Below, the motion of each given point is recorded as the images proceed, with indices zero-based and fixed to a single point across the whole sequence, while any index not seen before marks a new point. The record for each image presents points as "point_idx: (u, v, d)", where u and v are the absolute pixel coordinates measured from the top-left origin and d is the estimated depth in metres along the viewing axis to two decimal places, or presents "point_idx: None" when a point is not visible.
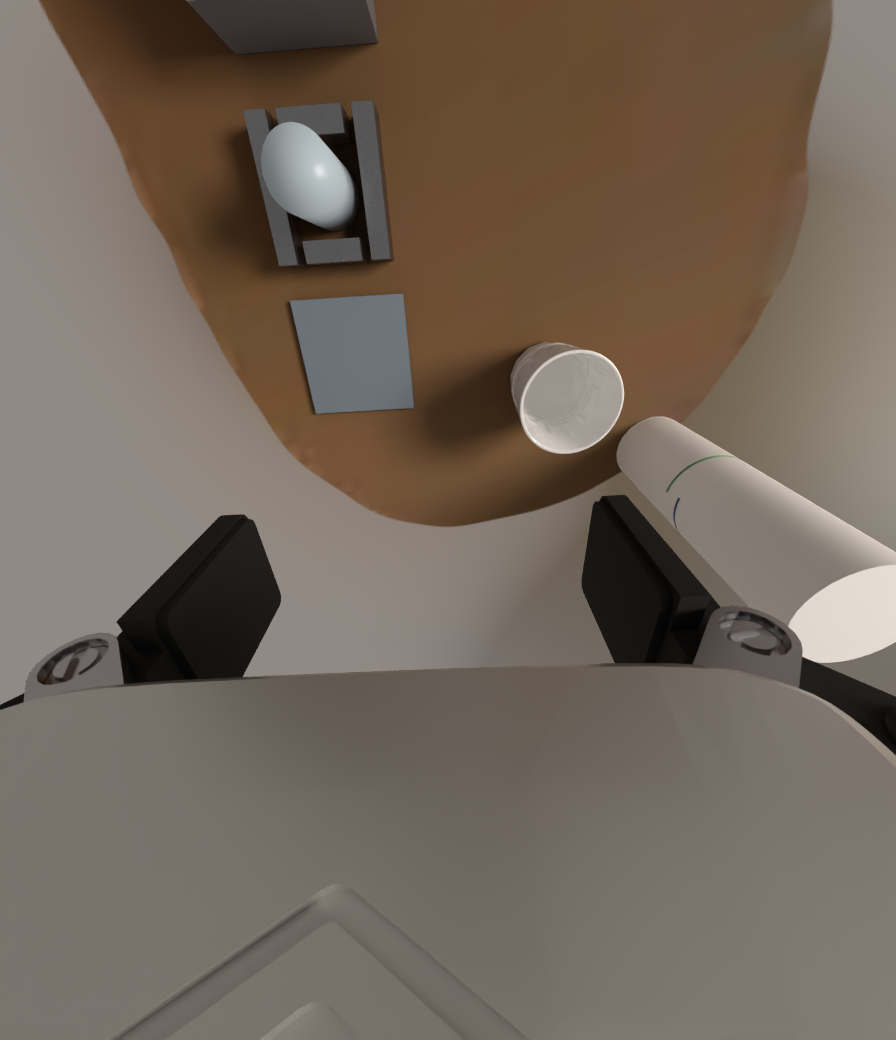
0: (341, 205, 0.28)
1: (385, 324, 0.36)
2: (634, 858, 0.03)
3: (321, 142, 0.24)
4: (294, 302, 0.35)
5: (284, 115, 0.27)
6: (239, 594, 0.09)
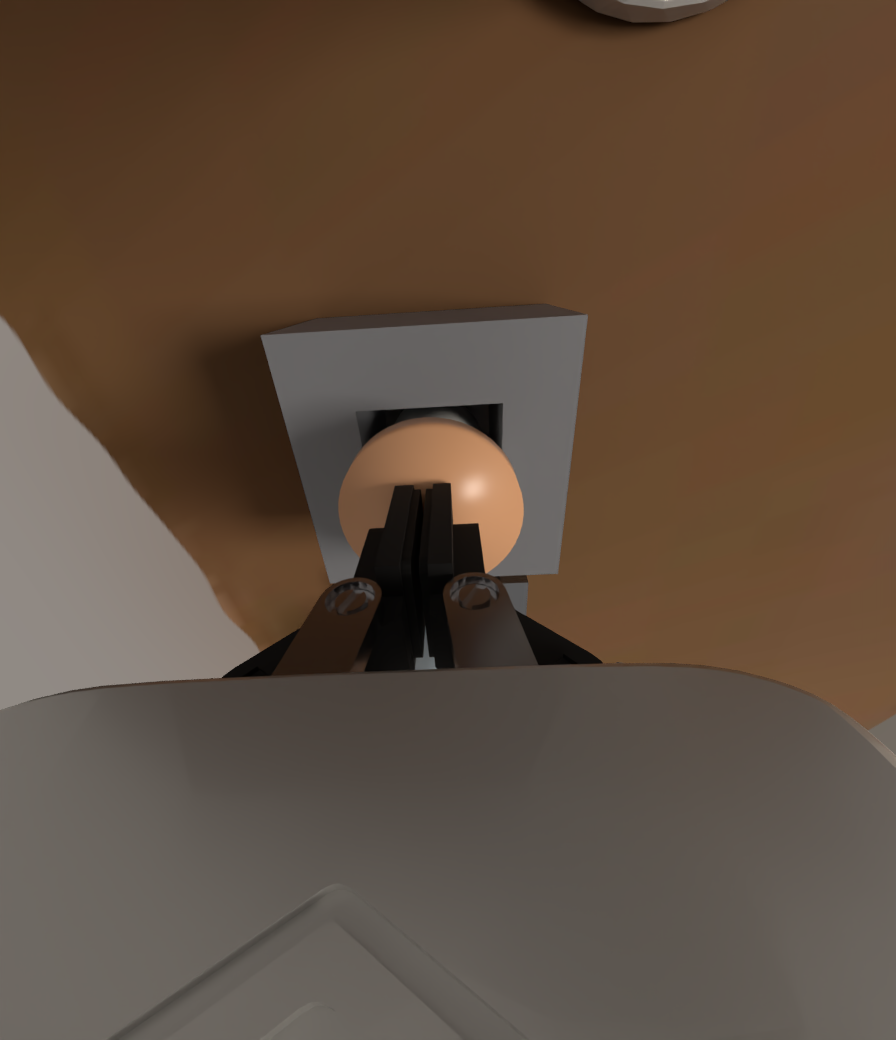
0: None
1: None
2: (634, 858, 0.03)
3: None
4: None
5: None
6: None
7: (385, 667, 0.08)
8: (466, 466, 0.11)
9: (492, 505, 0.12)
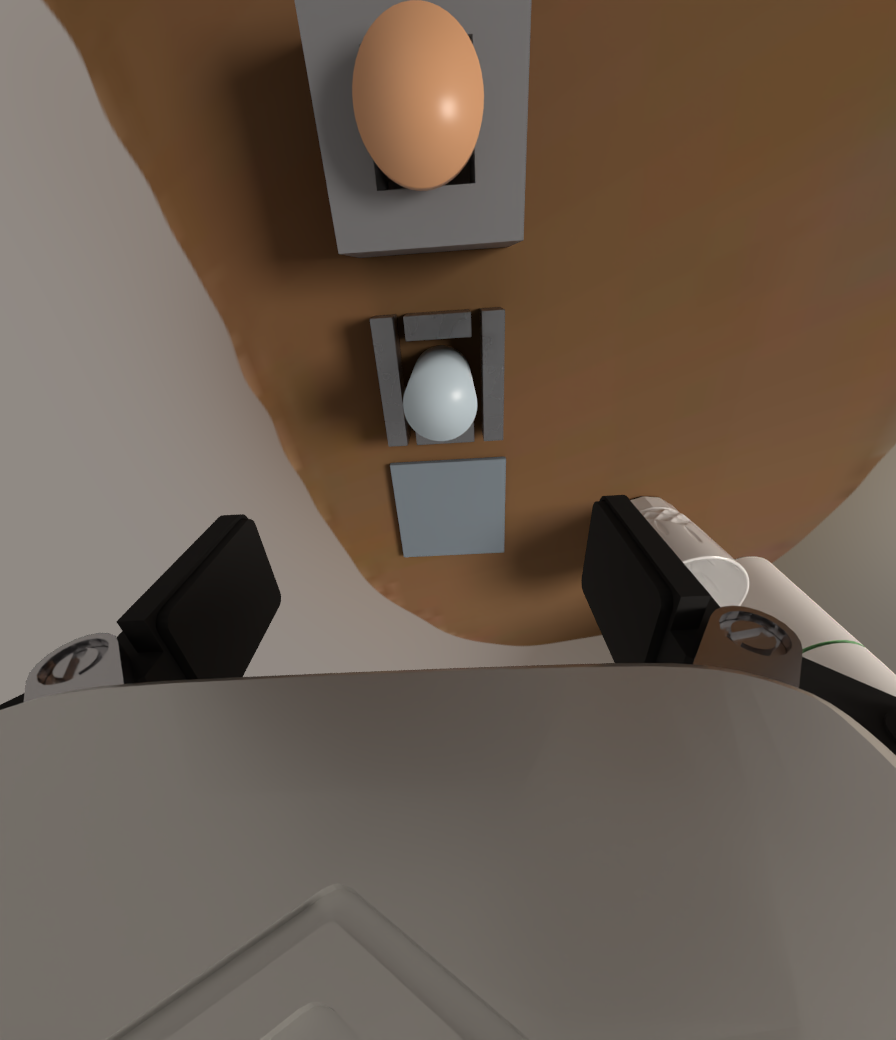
0: None
1: (484, 484, 0.35)
2: (634, 858, 0.03)
3: (468, 382, 0.23)
4: (394, 466, 0.34)
5: (411, 323, 0.26)
6: (239, 594, 0.09)
7: None
8: (441, 41, 0.16)
9: (461, 87, 0.16)
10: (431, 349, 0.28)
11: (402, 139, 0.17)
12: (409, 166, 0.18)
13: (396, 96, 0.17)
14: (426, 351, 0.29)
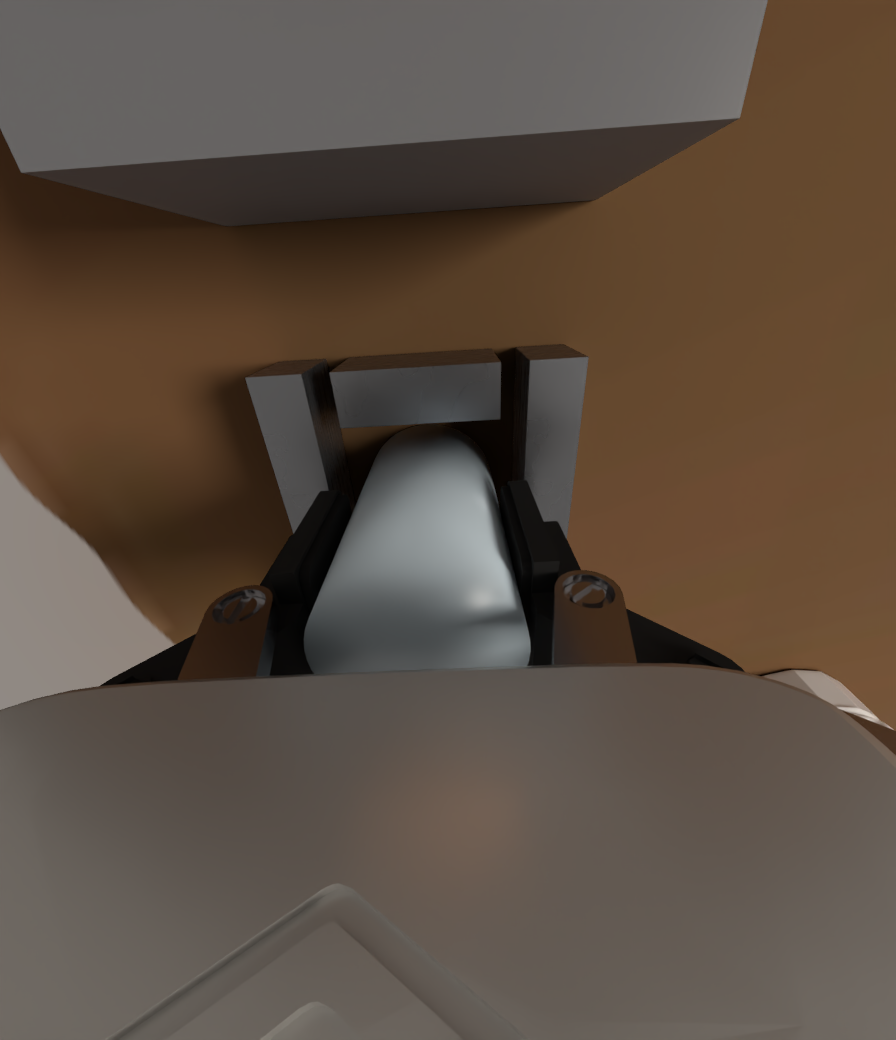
0: None
1: None
2: (634, 858, 0.03)
3: (506, 605, 0.07)
4: None
5: (352, 387, 0.10)
6: None
7: (290, 666, 0.08)
8: None
9: None
10: (406, 438, 0.13)
11: None
12: None
13: None
14: (395, 440, 0.13)
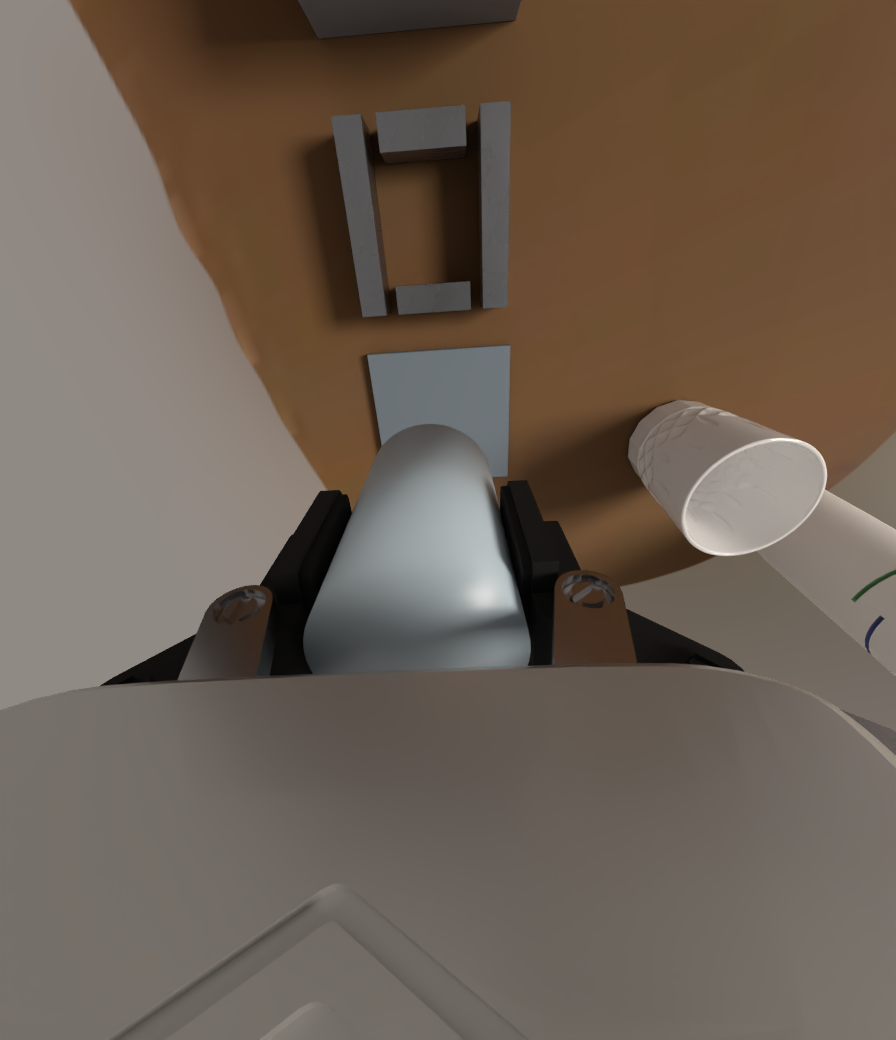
0: None
1: (484, 382, 0.28)
2: (634, 858, 0.03)
3: (507, 605, 0.07)
4: (372, 356, 0.28)
5: (387, 123, 0.20)
6: None
7: (290, 666, 0.08)
8: None
9: None
10: (406, 438, 0.13)
11: None
12: None
13: None
14: (395, 440, 0.13)
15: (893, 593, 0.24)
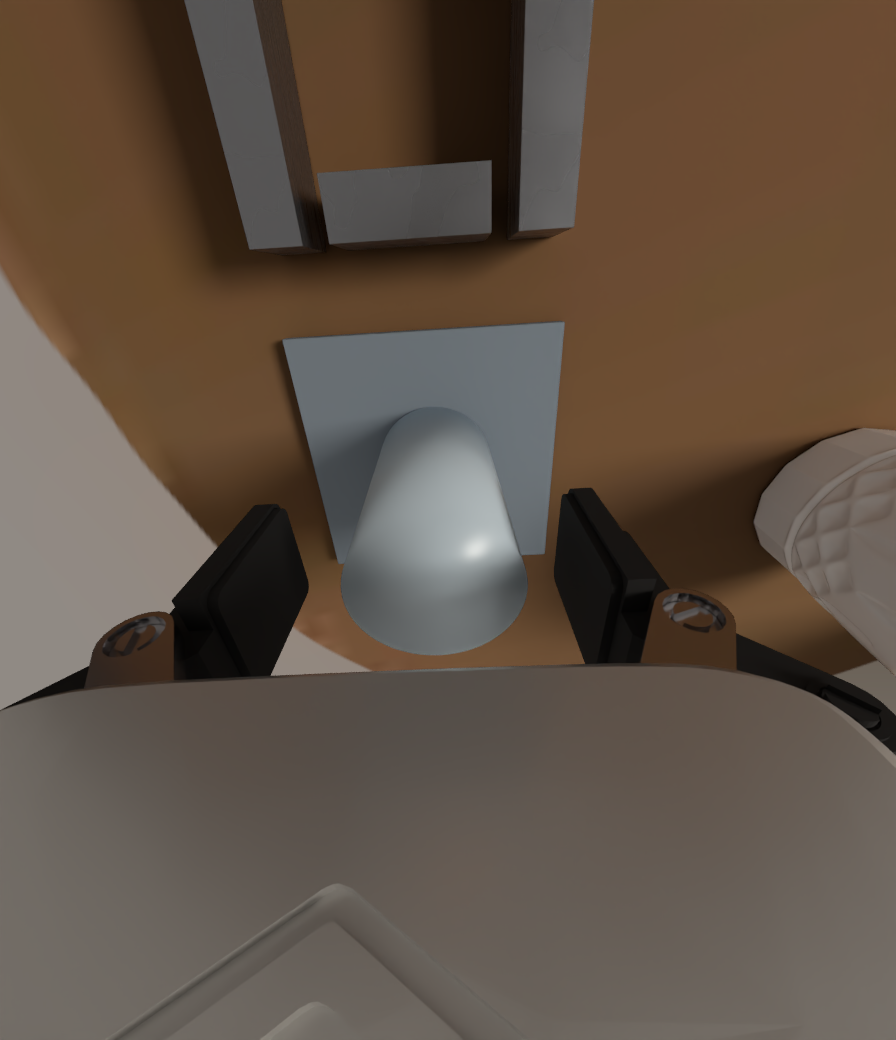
0: None
1: (510, 394, 0.15)
2: (634, 858, 0.03)
3: (509, 548, 0.09)
4: (293, 343, 0.14)
5: None
6: (275, 580, 0.10)
7: None
8: None
9: None
10: (415, 418, 0.14)
11: None
12: None
13: None
14: (405, 421, 0.14)
15: None
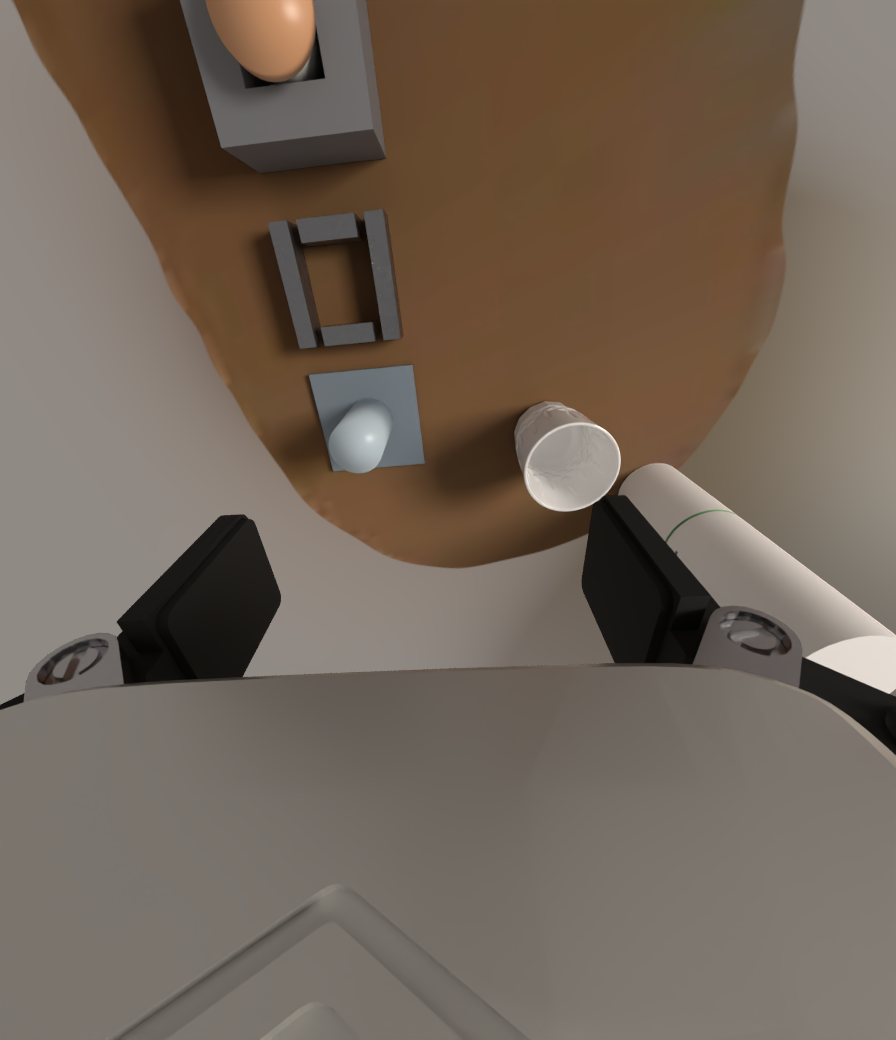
0: None
1: (396, 392, 0.38)
2: (634, 858, 0.03)
3: (374, 432, 0.32)
4: (313, 376, 0.38)
5: (304, 225, 0.30)
6: (239, 594, 0.09)
7: None
8: None
9: None
10: (359, 402, 0.38)
11: (249, 32, 0.22)
12: (258, 55, 0.22)
13: None
14: (356, 403, 0.38)
15: (683, 533, 0.33)
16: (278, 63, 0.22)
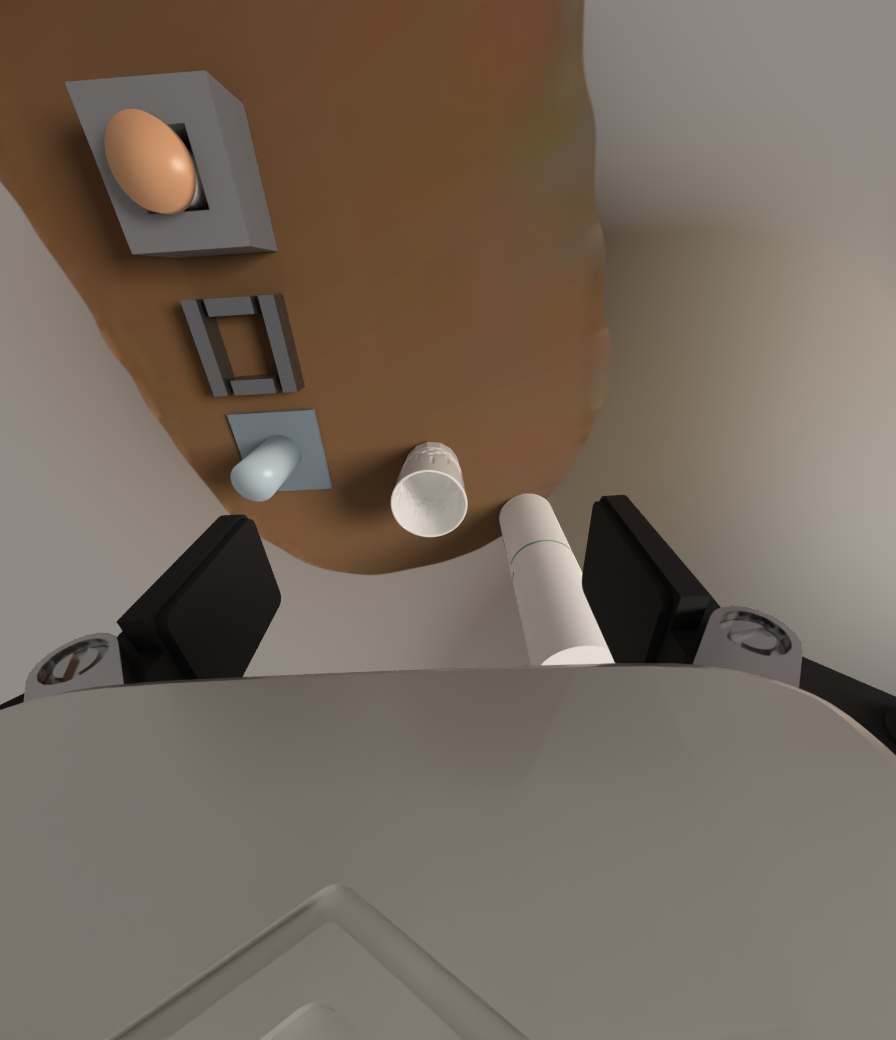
0: (283, 482, 0.44)
1: (302, 431, 0.46)
2: (634, 858, 0.03)
3: (267, 471, 0.40)
4: (230, 416, 0.45)
5: (210, 303, 0.37)
6: (239, 594, 0.09)
7: None
8: (152, 130, 0.27)
9: (170, 155, 0.28)
10: (269, 438, 0.45)
11: (143, 184, 0.29)
12: (151, 200, 0.29)
13: (133, 160, 0.28)
14: (267, 439, 0.45)
15: (519, 558, 0.41)
16: (167, 205, 0.29)
